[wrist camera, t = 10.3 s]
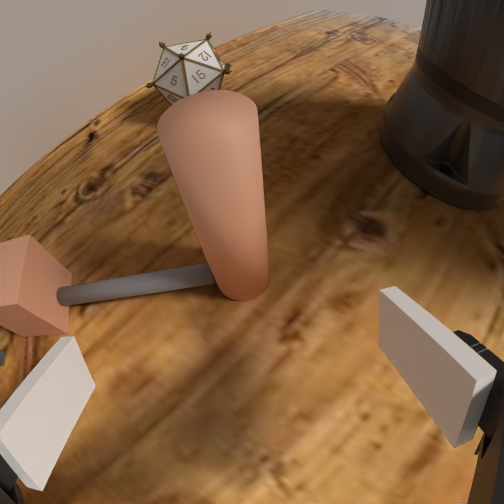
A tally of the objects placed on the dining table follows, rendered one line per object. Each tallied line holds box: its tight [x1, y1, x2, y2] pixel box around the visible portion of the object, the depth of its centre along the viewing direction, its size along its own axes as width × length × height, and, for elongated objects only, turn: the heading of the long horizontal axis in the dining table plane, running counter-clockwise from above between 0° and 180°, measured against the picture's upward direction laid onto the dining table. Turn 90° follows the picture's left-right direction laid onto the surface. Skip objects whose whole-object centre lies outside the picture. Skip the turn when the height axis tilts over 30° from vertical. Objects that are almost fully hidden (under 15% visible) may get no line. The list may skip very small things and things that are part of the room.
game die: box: [145, 32, 232, 105], centre depth 29 cm, size 9×8×10 cm
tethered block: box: [0, 90, 269, 337], centre depth 16 cm, size 20×5×13 cm, turn 99°
